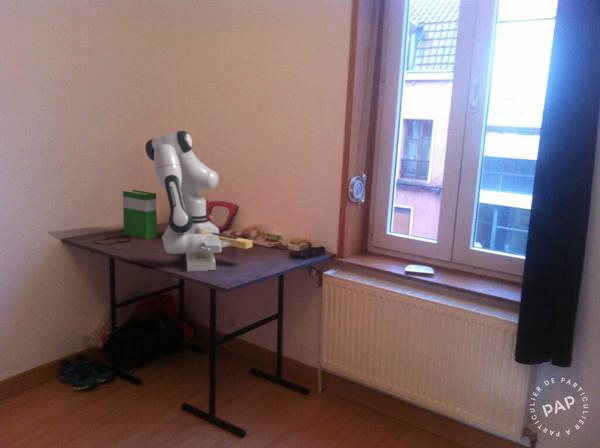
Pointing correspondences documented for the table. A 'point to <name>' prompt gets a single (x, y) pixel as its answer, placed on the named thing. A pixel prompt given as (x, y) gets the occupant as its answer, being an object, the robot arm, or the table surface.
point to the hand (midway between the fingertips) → (230, 243)
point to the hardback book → (140, 214)
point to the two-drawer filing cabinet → (200, 262)
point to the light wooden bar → (230, 239)
